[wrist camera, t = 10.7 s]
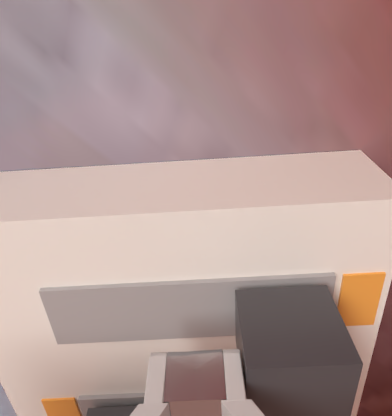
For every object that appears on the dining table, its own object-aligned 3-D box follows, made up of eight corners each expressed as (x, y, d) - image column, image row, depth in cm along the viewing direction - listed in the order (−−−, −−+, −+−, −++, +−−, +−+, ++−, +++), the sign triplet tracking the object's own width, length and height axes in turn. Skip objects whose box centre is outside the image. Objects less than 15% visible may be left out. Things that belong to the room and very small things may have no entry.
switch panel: (86, 446, 25) (68, 523, 21) (-16, 172, 15) (-83, 230, 11) (312, 436, 25) (333, 513, 21) (360, 149, 15) (415, 201, 11)
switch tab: (235, 340, 13) (246, 423, 11) (234, 289, 12) (246, 369, 10) (319, 336, 13) (350, 418, 11) (326, 285, 12) (363, 364, 10)
